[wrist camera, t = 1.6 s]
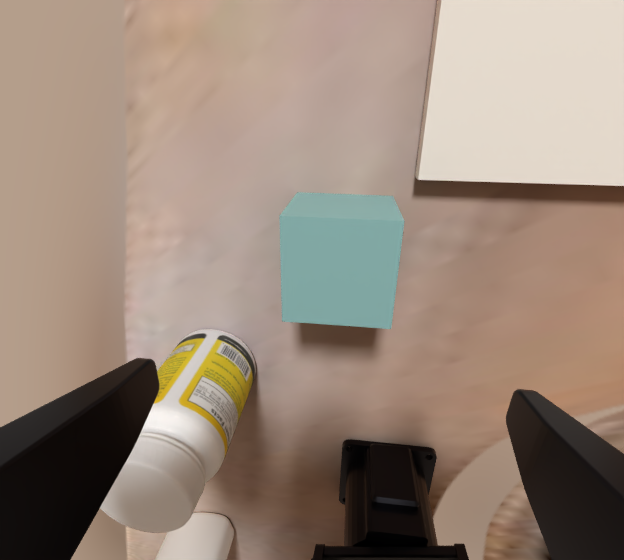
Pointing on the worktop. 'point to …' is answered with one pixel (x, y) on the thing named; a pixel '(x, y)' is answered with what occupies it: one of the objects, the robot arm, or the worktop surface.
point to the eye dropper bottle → (199, 539)
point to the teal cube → (340, 259)
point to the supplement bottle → (183, 432)
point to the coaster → (525, 93)
